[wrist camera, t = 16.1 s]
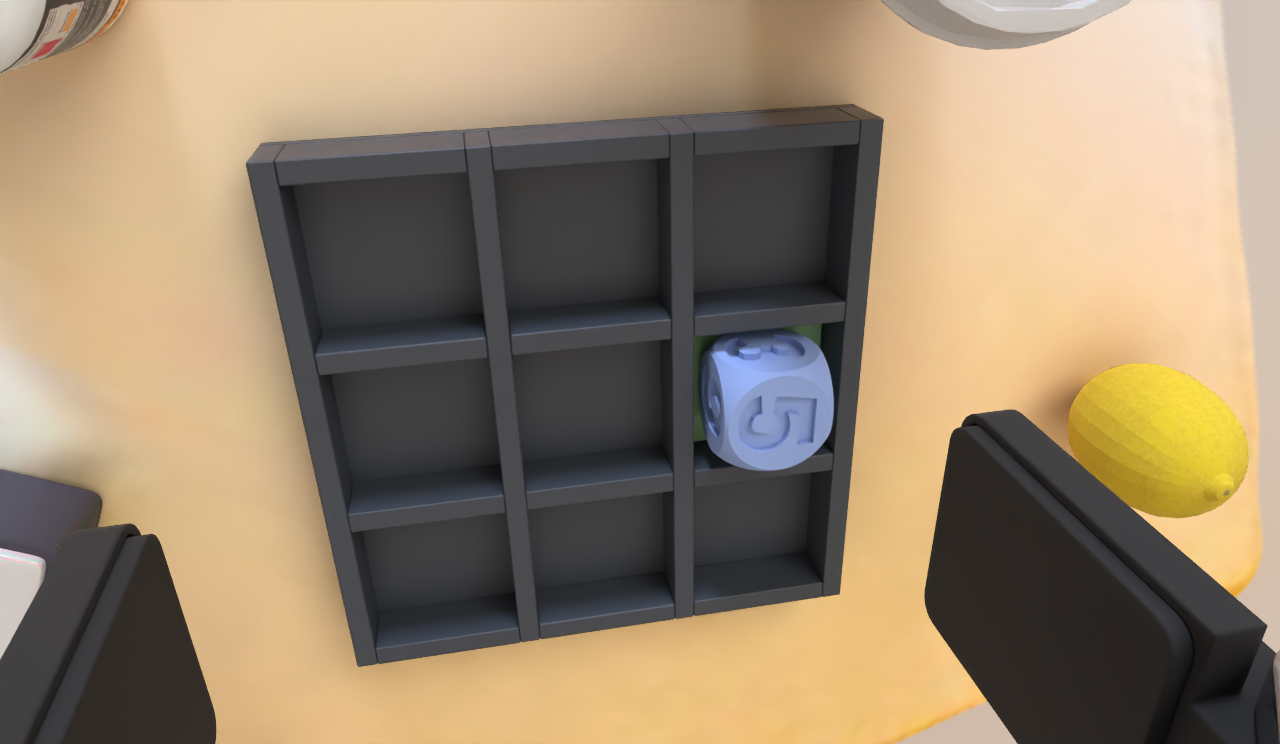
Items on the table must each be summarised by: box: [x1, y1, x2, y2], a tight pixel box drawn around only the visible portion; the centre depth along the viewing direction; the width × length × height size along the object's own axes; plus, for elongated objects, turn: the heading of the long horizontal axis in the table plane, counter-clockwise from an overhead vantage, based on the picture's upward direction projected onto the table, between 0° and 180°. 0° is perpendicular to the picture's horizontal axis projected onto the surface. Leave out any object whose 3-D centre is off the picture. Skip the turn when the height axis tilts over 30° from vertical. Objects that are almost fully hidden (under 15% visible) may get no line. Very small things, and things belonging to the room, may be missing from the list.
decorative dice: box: [698, 328, 834, 471], centre depth 34 cm, size 4×4×4 cm
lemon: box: [1067, 363, 1249, 518], centre depth 37 cm, size 6×6×8 cm
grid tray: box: [246, 104, 884, 667], centre depth 34 cm, size 20×20×3 cm
